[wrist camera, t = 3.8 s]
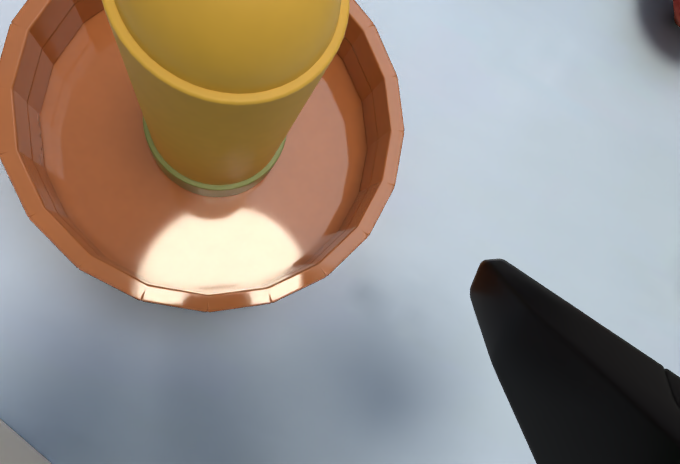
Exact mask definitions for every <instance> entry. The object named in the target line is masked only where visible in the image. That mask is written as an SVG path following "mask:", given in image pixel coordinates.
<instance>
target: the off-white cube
mask: <svg viewBox="0 0 680 464" xmlns="http://www.w3.org/2000/svg"><path fill="white" fill-rule="evenodd" d="M0 464H52V463H50V462H49V461H48V460H47V459H46V458H45V457H44V456H42V455H41V454H40V453H39V452H38V451H37V450H35V449H34V448H33V447H32V446H31V445H30V444H29V443H27V442H26V441H25V440H24V439H23V438H22V437H20V436H19V435H18V434H17V433H16V432H15V431H14V430H12V429H11V428H10V427H9V426H8V425H7V424H5V423H4V422H3V421H2V420H1V419H0Z"/></svg>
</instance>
